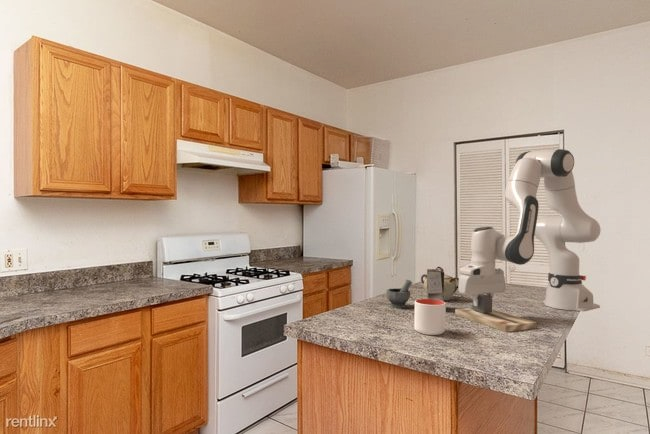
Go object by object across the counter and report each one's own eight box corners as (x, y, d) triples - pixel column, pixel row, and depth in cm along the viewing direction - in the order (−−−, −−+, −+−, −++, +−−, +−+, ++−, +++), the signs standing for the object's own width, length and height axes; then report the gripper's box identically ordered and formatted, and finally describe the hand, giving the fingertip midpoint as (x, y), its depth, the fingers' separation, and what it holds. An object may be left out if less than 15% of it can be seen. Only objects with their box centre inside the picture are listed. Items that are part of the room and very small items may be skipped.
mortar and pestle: (382, 306, 169) (382, 278, 169) (394, 303, 176) (394, 275, 176) (405, 311, 161) (405, 281, 161) (417, 307, 168) (417, 278, 168)
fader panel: (482, 311, 162) (482, 306, 162) (535, 328, 139) (536, 322, 139) (455, 314, 157) (455, 308, 157) (505, 332, 134) (505, 325, 134)
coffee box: (444, 312, 160) (444, 272, 160) (427, 311, 162) (428, 271, 162) (442, 307, 169) (442, 269, 169) (426, 306, 171) (426, 268, 171)
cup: (440, 338, 126) (440, 306, 126) (409, 332, 132) (410, 302, 132) (448, 330, 135) (449, 301, 135) (419, 325, 140) (420, 297, 140)
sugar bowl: (412, 298, 187) (413, 266, 187) (428, 293, 198) (428, 263, 198) (453, 304, 174) (453, 270, 174) (467, 299, 185) (467, 267, 185)
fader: (480, 308, 157) (480, 293, 157) (492, 312, 151) (492, 296, 151) (472, 309, 155) (472, 294, 155) (483, 313, 150) (484, 297, 150)
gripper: (497, 267, 160) (496, 301, 160) (456, 269, 152) (455, 305, 152) (509, 269, 154) (509, 304, 154) (467, 271, 146) (467, 308, 147)
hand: (482, 305), depth 153 cm, fingers closed on fader, 4 cm apart
